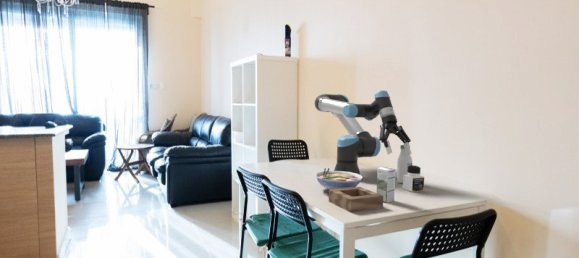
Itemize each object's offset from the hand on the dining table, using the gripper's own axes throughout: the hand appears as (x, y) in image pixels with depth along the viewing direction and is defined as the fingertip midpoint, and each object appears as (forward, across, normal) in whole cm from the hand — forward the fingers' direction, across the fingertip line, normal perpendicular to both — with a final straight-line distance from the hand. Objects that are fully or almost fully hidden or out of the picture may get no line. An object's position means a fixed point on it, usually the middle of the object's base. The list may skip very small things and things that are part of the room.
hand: (399, 154), depth 182 cm
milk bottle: (+11, +12, +12) cm, 20 cm away
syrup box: (+25, -23, -4) cm, 34 cm away
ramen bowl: (+14, -31, +16) cm, 38 cm away
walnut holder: (+26, -38, -2) cm, 47 cm away
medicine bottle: (+18, +4, +2) cm, 19 cm away
